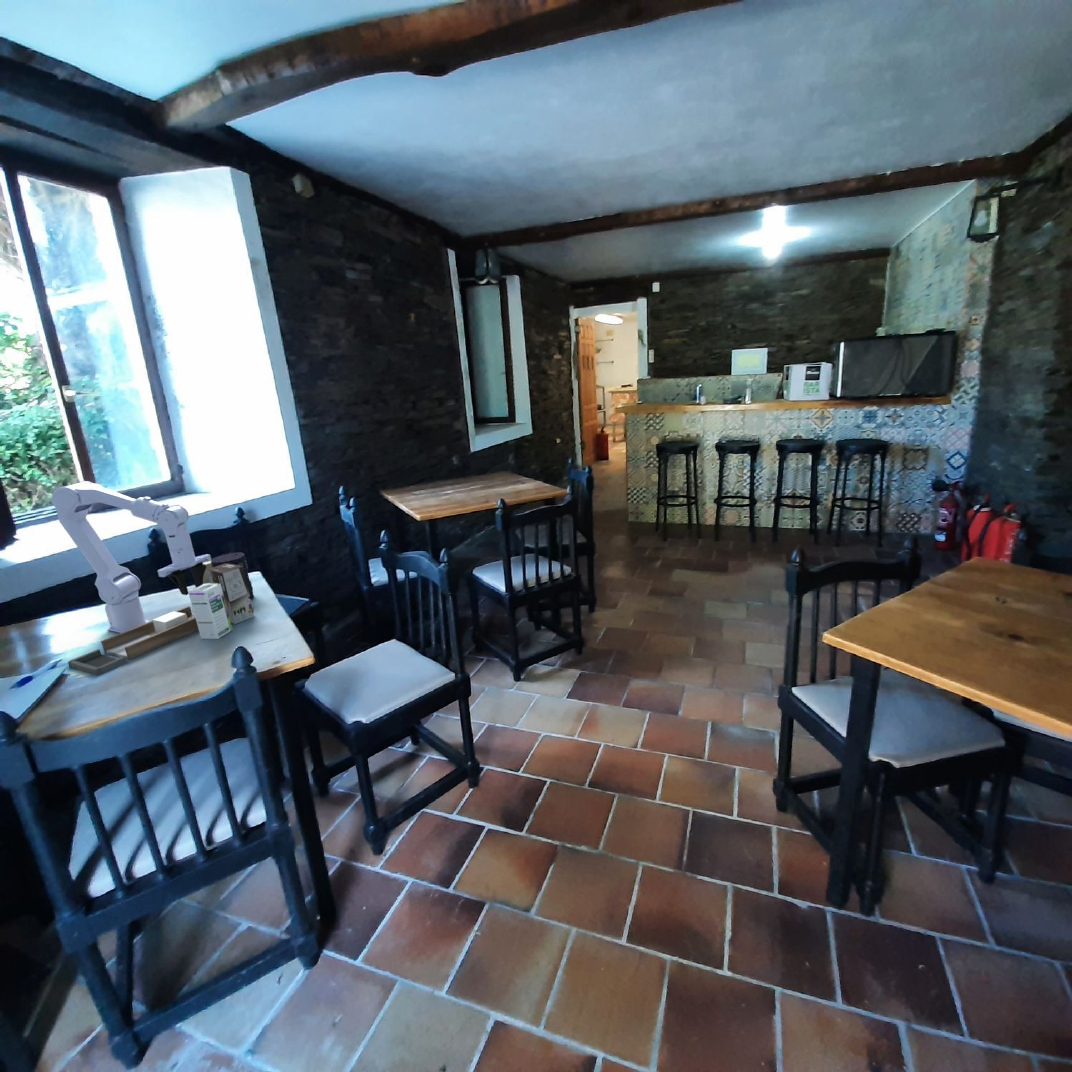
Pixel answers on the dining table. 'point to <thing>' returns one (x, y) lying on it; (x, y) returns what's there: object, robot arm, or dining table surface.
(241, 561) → the storage jar
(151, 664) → the dining table surface
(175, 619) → the cream block
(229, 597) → the coffee box
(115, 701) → the dining table surface
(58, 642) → the dining table surface
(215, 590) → the syrup box
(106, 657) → the tray
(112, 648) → the walled channel
